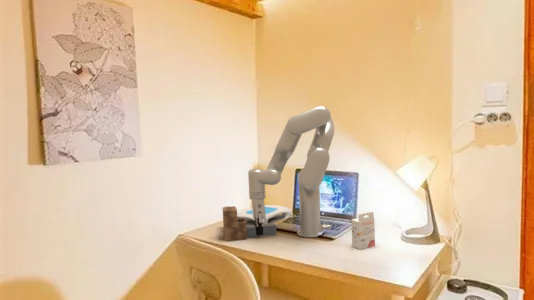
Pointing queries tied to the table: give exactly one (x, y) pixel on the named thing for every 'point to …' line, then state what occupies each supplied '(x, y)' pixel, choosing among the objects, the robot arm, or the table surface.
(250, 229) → the grey rectangular block
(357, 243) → the ink cartridge box
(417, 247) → the table surface
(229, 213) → the brown stepped block
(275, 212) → the white step stool
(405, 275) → the table surface
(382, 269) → the table surface
